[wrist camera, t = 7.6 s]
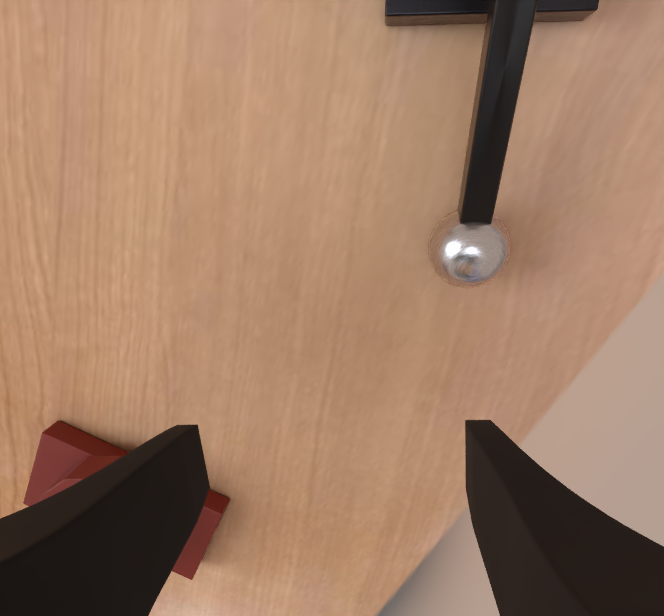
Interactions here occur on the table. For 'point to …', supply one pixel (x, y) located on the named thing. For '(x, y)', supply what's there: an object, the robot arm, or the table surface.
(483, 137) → the lever
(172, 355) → the table surface
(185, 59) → the table surface
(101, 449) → the block
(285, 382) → the table surface
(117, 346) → the table surface
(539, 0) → the black pivot stand
